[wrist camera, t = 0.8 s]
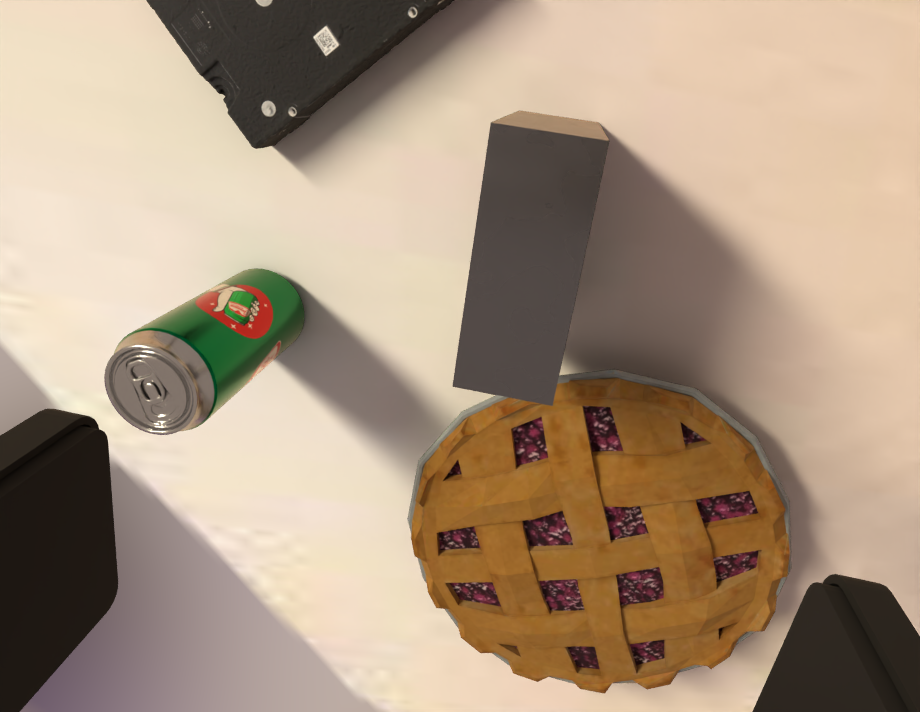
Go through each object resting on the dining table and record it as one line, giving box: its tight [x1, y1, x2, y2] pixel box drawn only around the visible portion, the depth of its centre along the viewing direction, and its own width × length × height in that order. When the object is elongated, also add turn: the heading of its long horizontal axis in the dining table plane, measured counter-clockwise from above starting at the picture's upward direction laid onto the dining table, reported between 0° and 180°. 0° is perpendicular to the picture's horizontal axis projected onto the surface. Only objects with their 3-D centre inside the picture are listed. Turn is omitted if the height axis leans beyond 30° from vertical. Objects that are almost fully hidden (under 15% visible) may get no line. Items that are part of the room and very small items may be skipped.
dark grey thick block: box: [453, 111, 609, 406], centre depth 30 cm, size 4×10×12 cm, turn 172°
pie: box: [408, 369, 791, 693], centre depth 39 cm, size 22×22×5 cm
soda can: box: [105, 269, 304, 435], centre depth 34 cm, size 5×5×12 cm
